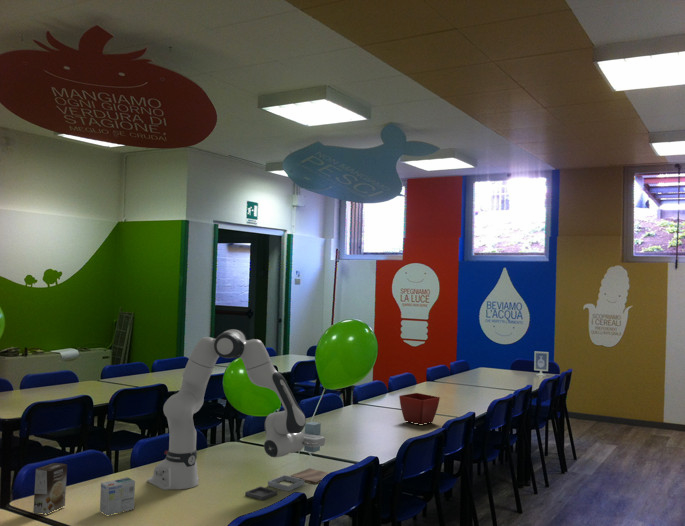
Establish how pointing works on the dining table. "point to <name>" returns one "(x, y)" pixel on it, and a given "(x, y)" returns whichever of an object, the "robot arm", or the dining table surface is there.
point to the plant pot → (419, 407)
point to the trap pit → (261, 493)
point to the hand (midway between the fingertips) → (313, 435)
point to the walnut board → (310, 475)
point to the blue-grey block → (314, 430)
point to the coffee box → (50, 488)
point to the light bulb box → (117, 496)
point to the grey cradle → (296, 484)
